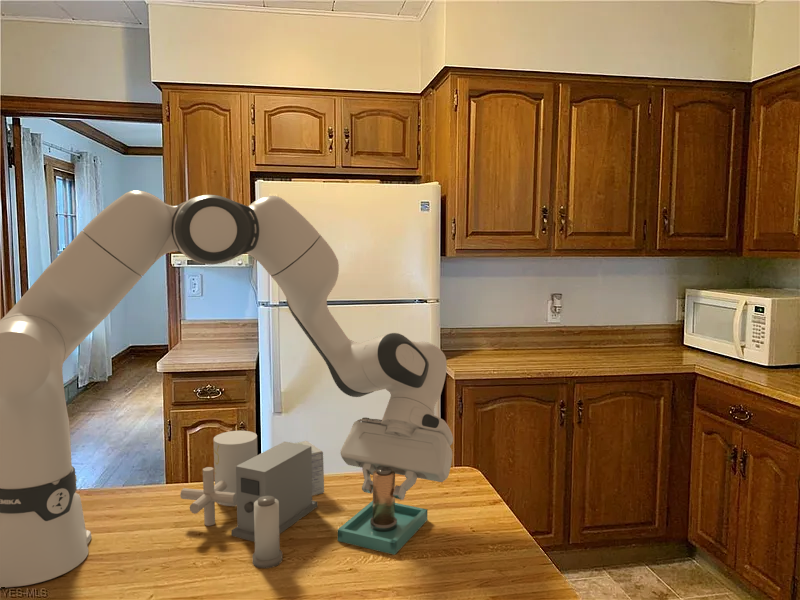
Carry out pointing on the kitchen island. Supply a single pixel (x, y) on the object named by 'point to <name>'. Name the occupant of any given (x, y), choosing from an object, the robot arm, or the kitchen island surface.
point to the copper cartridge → (383, 500)
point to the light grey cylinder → (232, 456)
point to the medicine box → (316, 469)
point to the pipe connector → (208, 496)
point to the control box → (275, 486)
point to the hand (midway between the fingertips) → (382, 494)
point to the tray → (388, 542)
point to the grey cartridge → (266, 533)
